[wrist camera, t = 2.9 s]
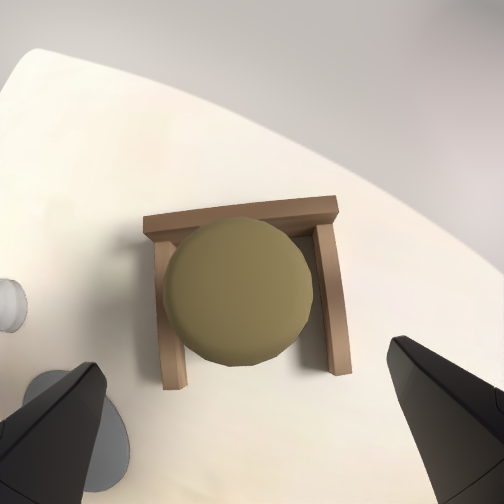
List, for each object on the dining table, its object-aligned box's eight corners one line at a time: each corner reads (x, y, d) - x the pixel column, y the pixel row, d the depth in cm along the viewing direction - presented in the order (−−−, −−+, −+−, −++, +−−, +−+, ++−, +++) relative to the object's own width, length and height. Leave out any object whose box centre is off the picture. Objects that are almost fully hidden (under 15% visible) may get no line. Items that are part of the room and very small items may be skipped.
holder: (344, 369, 19) (361, 377, 15) (172, 385, 19) (151, 395, 15) (324, 219, 21) (335, 195, 18) (163, 236, 22) (143, 216, 18)
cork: (294, 362, 19) (325, 393, 9) (198, 352, 20) (126, 368, 9) (302, 268, 21) (336, 198, 10) (209, 259, 21) (154, 186, 10)
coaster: (151, 485, 17) (148, 488, 17) (53, 489, 17) (50, 491, 16) (101, 358, 20) (98, 358, 19) (12, 380, 19) (9, 381, 19)
